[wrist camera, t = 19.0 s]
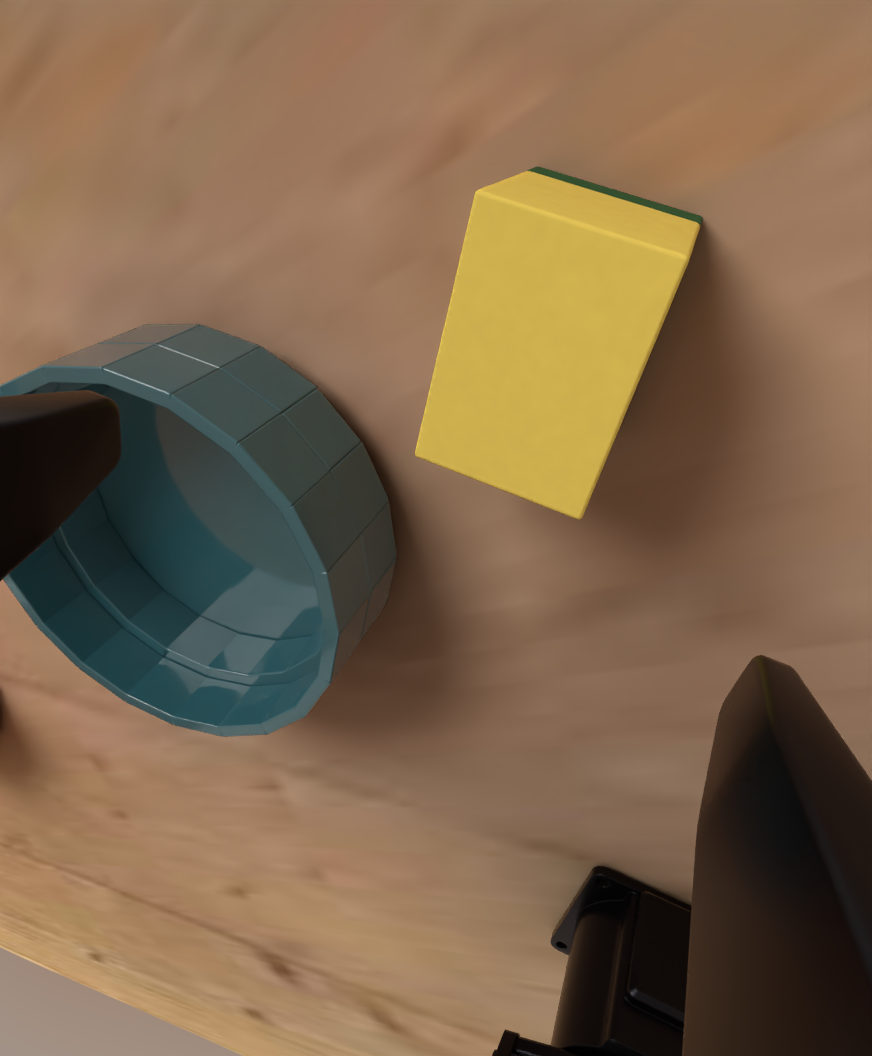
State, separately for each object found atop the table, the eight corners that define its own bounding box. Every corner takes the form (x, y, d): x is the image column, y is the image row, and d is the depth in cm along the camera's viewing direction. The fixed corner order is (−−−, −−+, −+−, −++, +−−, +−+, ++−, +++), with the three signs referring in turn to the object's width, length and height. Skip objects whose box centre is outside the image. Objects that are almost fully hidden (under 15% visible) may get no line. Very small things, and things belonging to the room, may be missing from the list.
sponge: (612, 436, 20) (580, 522, 16) (476, 386, 21) (412, 456, 17) (704, 216, 17) (690, 257, 13) (536, 165, 18) (474, 188, 14)
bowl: (370, 696, 30) (311, 791, 26) (94, 573, 32) (0, 642, 28) (438, 399, 22) (368, 470, 18) (66, 265, 24) (-70, 301, 20)
